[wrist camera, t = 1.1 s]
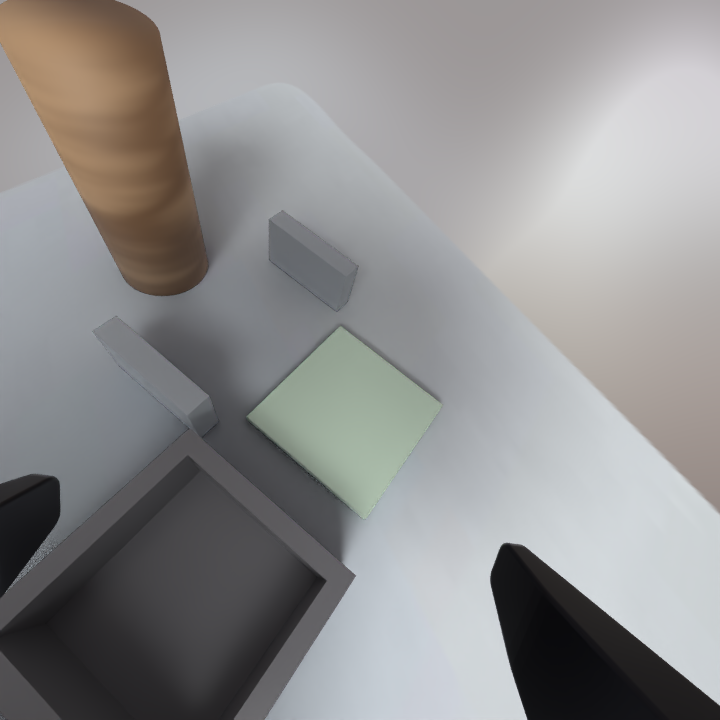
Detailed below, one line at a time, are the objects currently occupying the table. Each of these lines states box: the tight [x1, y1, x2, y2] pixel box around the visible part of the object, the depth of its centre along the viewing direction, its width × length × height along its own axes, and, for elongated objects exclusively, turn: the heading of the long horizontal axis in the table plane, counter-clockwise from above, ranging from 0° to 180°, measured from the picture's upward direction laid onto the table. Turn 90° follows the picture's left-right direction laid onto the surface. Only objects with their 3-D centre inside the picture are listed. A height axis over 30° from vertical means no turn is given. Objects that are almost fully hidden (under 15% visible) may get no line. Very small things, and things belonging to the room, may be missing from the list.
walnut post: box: [0, 0, 208, 296], centre depth 18 cm, size 5×5×12 cm
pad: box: [247, 326, 443, 520], centre depth 21 cm, size 8×8×1 cm
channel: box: [92, 210, 358, 438], centre depth 21 cm, size 12×6×4 cm, turn 143°
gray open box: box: [0, 428, 356, 720], centre depth 14 cm, size 9×9×4 cm
